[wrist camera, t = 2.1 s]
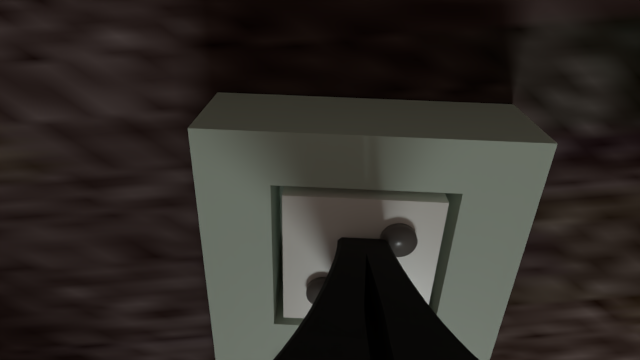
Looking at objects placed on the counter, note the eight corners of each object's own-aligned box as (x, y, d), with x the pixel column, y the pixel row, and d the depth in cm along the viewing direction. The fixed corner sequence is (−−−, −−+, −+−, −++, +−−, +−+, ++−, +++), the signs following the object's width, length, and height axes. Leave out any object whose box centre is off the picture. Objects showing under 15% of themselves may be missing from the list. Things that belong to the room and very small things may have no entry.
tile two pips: (289, 274, 15) (282, 322, 13) (289, 162, 13) (281, 199, 11) (414, 280, 15) (426, 329, 13) (434, 168, 13) (450, 207, 11)
